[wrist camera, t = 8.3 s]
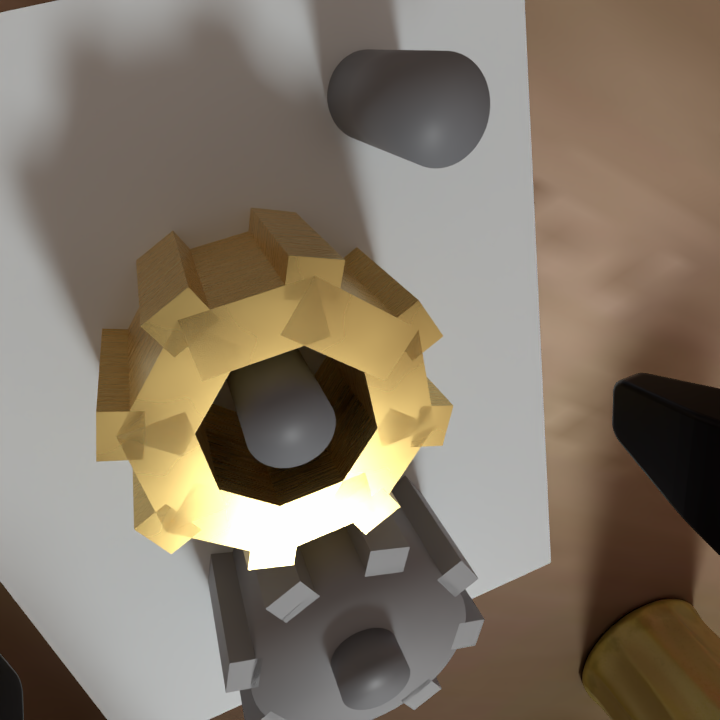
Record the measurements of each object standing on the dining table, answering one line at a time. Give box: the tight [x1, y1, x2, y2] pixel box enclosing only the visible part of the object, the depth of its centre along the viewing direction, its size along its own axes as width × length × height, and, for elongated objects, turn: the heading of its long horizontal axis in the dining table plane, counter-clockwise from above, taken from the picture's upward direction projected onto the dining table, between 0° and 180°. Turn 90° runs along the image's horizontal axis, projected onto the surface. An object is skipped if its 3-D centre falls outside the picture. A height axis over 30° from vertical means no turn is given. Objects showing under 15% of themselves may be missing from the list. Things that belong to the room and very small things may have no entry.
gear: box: [96, 208, 453, 570], centre depth 12 cm, size 6×6×3 cm
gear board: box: [0, 0, 551, 720], centre depth 13 cm, size 14×18×5 cm
